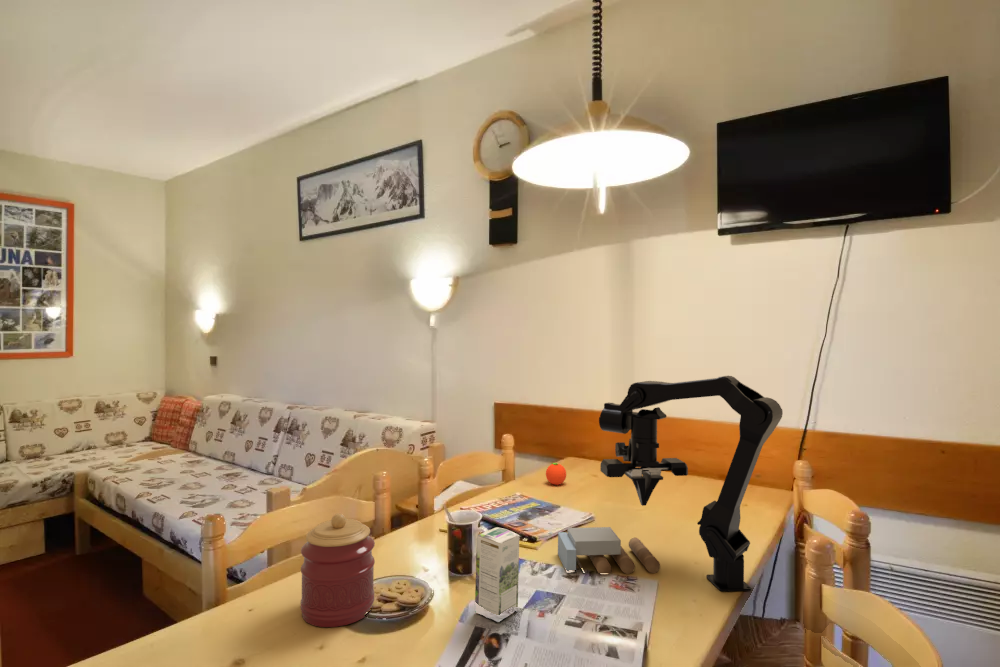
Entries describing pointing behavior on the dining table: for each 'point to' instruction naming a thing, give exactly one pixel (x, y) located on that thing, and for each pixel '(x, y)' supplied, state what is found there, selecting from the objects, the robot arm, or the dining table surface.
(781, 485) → the dining table surface
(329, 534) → the canister
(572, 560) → the bar
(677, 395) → the robot arm
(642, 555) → the roller track
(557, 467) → the clementine
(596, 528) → the slab
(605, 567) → the roller
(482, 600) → the syrup box
